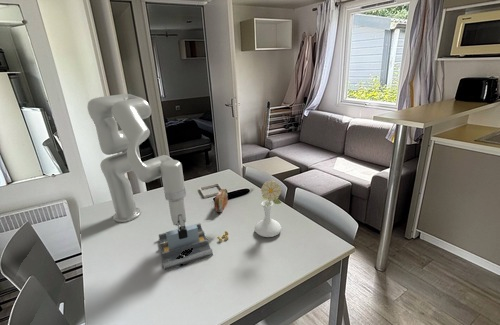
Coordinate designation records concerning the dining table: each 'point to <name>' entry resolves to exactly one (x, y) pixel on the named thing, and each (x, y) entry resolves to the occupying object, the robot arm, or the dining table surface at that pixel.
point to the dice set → (223, 236)
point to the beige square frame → (209, 187)
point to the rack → (197, 253)
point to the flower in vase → (269, 225)
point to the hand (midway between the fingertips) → (181, 231)
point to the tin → (221, 200)
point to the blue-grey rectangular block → (177, 243)
